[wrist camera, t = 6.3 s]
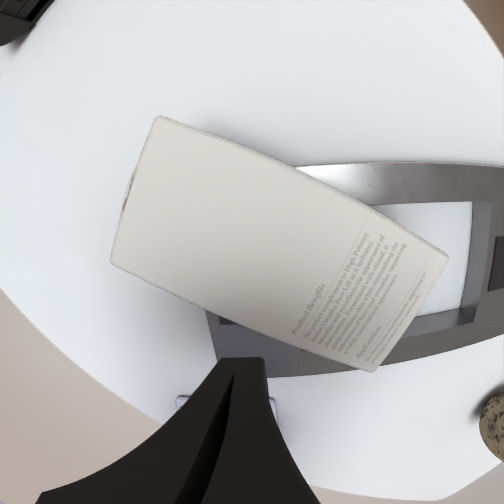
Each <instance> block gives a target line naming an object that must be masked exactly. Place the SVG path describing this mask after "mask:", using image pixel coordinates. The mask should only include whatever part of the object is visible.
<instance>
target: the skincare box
mask: <svg viewBox="0 0 504 504" xmlns="http://www.w3.org/2000/svg"><path fill="white" fill-rule="evenodd" d="M448 259H449V256H448V255H447V254H446V253H445V252H443V251H441V250H440V249H438V248H437V247H435V246H433V245H432V244H430V243H429V242H427V241H425V240H424V239H422V238H421V237H419V236H417V235H416V234H414V233H413V232H411V231H409V230H408V229H406V228H405V227H403V226H401V225H400V224H398V223H396V222H395V221H393V220H391V219H390V218H388V217H386V216H385V215H383V214H381V213H379V212H378V211H376V210H374V209H372V208H371V207H369V206H367V205H365V204H364V203H362V202H360V201H358V200H356V199H355V198H353V197H351V196H349V195H347V194H345V193H343V192H342V191H340V190H338V189H336V188H334V187H332V186H330V185H328V184H326V183H324V182H322V181H320V180H318V179H316V178H314V177H312V176H310V175H308V174H306V173H304V172H302V171H300V170H298V169H296V168H294V167H291V166H289V165H287V164H285V163H283V162H281V161H278V160H276V159H274V158H272V157H269V156H267V155H265V154H262V153H260V152H258V151H255V150H253V149H251V148H248V147H246V146H243V145H241V144H238V143H236V142H233V141H230V140H228V139H225V138H222V137H219V136H216V135H214V134H211V133H208V132H205V131H201V130H198V129H195V128H193V127H190V126H187V125H185V124H182V123H180V122H177V121H175V120H172V119H170V118H167V117H164V116H156V117H155V119H154V121H153V124H152V126H151V129H150V131H149V134H148V136H147V139H146V141H145V144H144V147H143V149H142V152H141V155H140V158H139V160H138V163H137V165H136V167H135V169H134V171H133V173H132V176H131V178H130V180H129V183H128V186H127V189H126V192H125V196H124V199H123V203H122V208H121V215H120V221H119V224H118V228H117V232H116V236H115V240H114V244H113V248H112V252H111V257H110V262H111V263H112V264H113V265H114V266H116V267H118V268H120V269H122V270H124V271H126V272H128V273H130V274H132V275H134V276H137V277H139V278H141V279H143V280H144V281H146V282H148V283H150V284H152V285H154V286H156V287H158V288H161V289H163V290H165V291H167V292H169V293H171V294H173V295H175V296H177V297H180V298H182V299H184V300H186V301H188V302H190V303H193V304H195V305H197V306H199V307H201V308H204V309H206V310H208V311H210V312H212V313H215V314H217V315H219V316H222V317H224V318H226V319H229V320H231V321H233V322H236V323H238V324H240V325H243V326H245V327H248V328H250V329H252V330H255V331H257V332H259V333H262V334H264V335H267V336H269V337H272V338H274V339H277V340H280V341H282V342H285V343H288V344H290V345H293V346H296V347H298V348H301V349H304V350H307V351H309V352H312V353H315V354H318V355H321V356H324V357H326V358H329V359H332V360H335V361H338V362H341V363H344V364H347V365H349V366H352V367H355V368H358V369H361V370H364V371H368V372H374V371H375V370H376V369H377V368H378V367H379V365H380V364H381V363H382V362H383V360H384V359H385V358H386V356H387V355H388V354H389V353H390V351H391V350H392V349H393V347H394V346H395V344H396V343H397V342H398V340H399V339H400V337H401V336H402V335H403V333H404V332H405V330H406V329H407V327H408V326H409V325H410V323H411V322H412V320H413V319H414V317H415V316H416V314H417V312H418V311H419V309H420V308H421V306H422V305H423V303H424V301H425V300H426V298H427V297H428V295H429V293H430V292H431V290H432V288H433V287H434V285H435V283H436V281H437V280H438V278H439V276H440V274H441V272H442V271H443V269H444V267H445V265H446V263H447V261H448Z"/></svg>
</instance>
